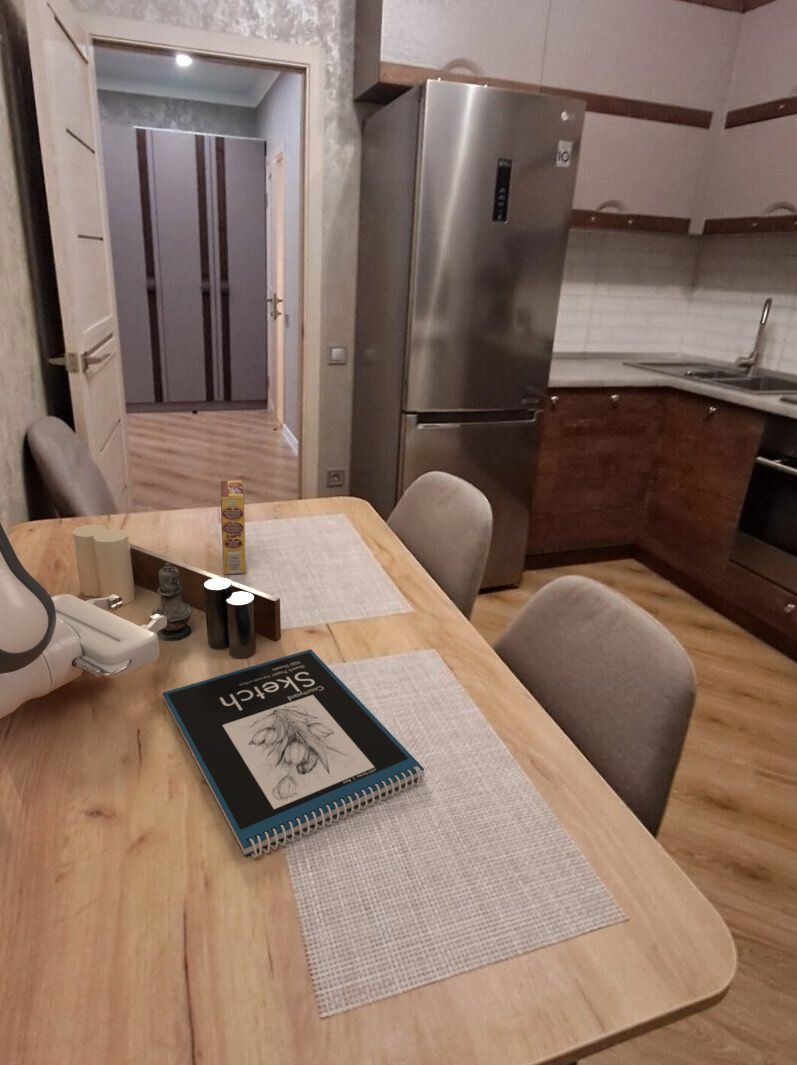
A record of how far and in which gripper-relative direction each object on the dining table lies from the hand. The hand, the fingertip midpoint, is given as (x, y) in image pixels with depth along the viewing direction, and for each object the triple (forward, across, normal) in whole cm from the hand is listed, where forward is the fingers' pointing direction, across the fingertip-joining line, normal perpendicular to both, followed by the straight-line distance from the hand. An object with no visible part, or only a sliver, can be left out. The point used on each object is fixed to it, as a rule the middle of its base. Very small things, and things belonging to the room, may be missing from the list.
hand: (140, 609), depth 96 cm
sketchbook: (-4, -30, +7) cm, 31 cm away
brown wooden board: (+13, +5, +6) cm, 15 cm away
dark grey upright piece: (+6, 0, +7) cm, 9 cm away
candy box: (+28, +10, +7) cm, 31 cm away
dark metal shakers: (+8, -10, +6) cm, 14 cm away
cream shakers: (+8, +18, +6) cm, 21 cm away
